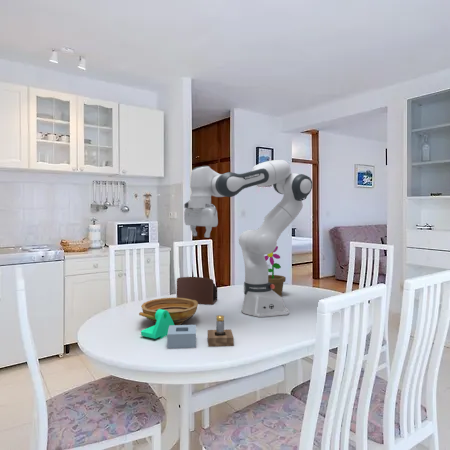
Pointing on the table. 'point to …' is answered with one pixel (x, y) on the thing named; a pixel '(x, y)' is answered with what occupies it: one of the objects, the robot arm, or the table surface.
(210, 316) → the table surface
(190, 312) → the ceramic bowl
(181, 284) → the letter holder
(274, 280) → the flowerpot
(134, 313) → the table surface
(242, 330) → the table surface
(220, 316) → the lock pin
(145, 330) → the camera mount
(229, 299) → the table surface
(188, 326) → the dock
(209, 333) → the pin mount
